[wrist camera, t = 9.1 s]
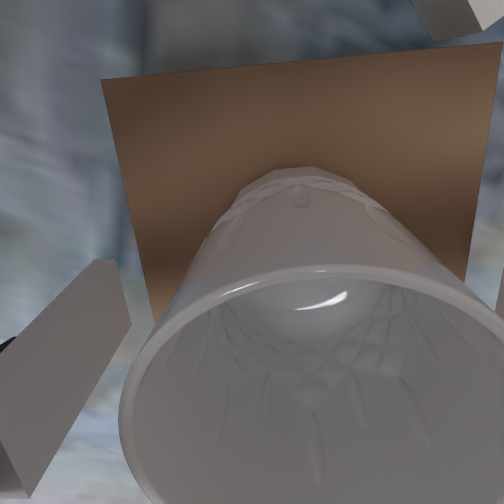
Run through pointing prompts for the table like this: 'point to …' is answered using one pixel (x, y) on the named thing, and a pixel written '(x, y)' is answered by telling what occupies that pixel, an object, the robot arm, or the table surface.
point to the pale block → (458, 16)
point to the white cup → (317, 363)
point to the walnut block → (304, 144)
